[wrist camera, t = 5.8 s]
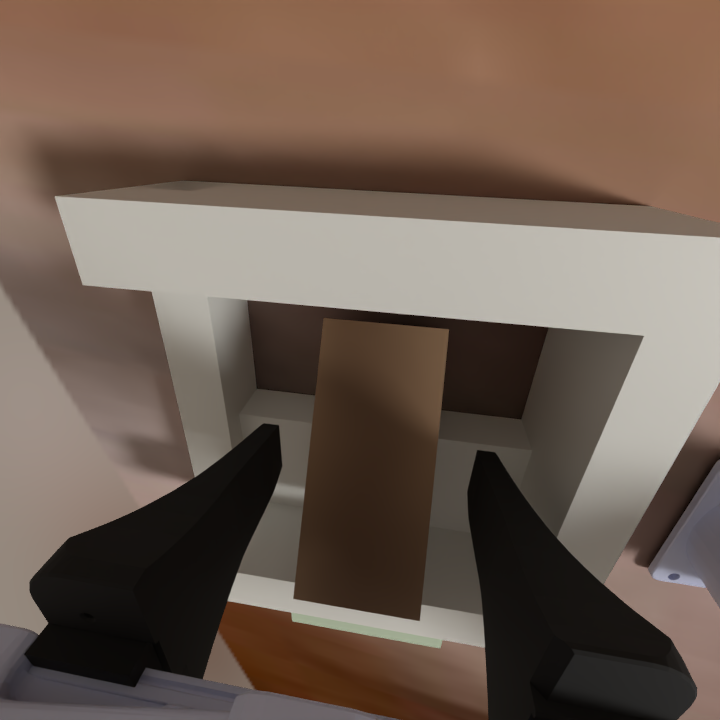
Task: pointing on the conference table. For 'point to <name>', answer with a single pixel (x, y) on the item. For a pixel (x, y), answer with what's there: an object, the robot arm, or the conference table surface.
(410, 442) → the bar
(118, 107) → the conference table surface
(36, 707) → the robot arm
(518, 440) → the frame
